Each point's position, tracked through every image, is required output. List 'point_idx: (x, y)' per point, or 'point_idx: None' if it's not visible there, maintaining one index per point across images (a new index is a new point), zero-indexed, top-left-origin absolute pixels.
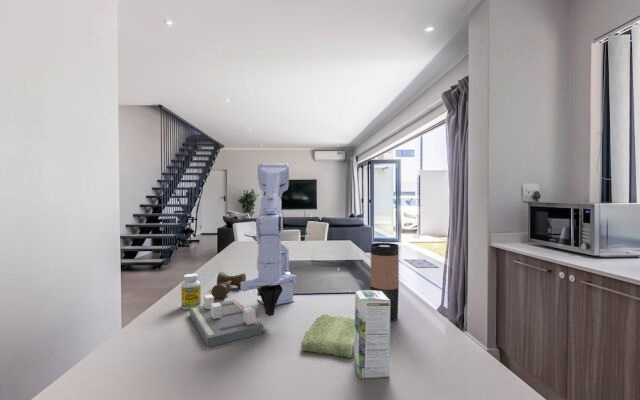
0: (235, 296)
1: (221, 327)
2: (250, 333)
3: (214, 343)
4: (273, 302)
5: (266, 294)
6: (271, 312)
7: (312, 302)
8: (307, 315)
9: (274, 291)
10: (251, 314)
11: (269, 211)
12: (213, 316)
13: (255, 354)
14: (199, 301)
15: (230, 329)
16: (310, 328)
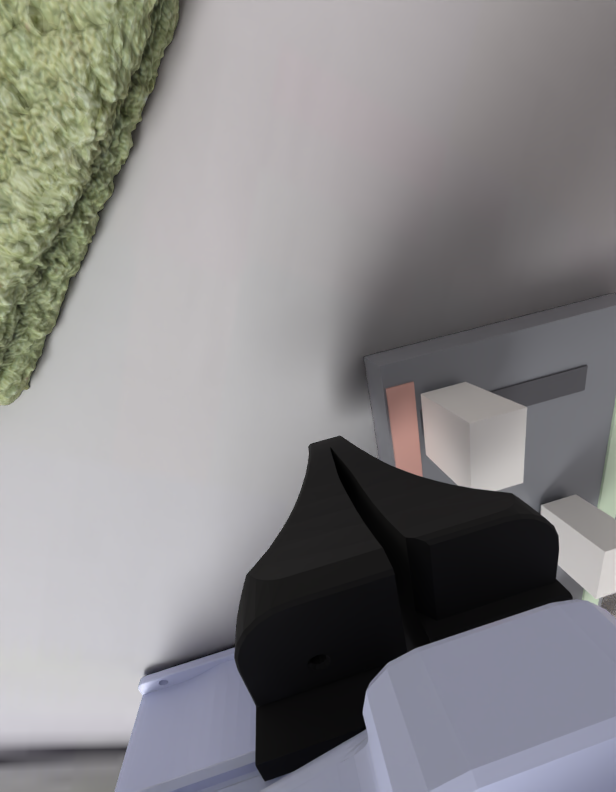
0: None
1: (571, 400)
2: (437, 341)
3: (594, 300)
4: (335, 482)
5: (484, 499)
6: (329, 446)
7: (33, 663)
8: (82, 514)
9: (380, 548)
10: (482, 407)
11: None
12: (588, 502)
13: (460, 105)
14: None
15: (546, 362)
16: (56, 172)
